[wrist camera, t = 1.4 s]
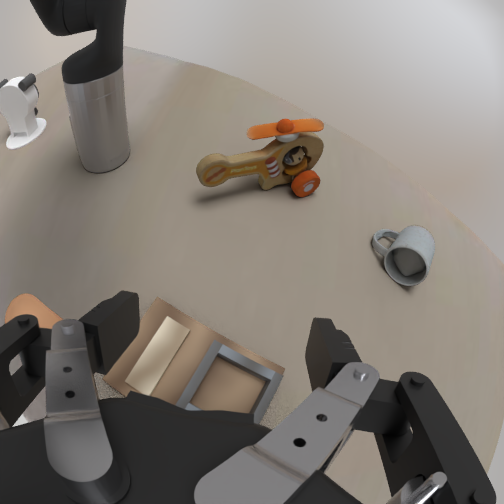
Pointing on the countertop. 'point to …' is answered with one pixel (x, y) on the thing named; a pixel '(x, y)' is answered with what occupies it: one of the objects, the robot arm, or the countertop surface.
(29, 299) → the cylinder
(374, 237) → the ceramic mug
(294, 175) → the toy helicopter
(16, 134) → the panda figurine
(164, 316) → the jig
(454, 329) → the countertop surface
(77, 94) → the robot arm
